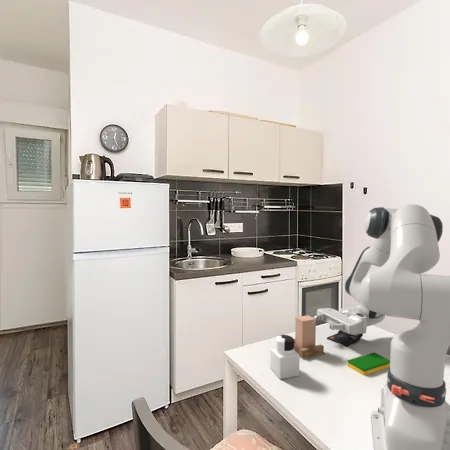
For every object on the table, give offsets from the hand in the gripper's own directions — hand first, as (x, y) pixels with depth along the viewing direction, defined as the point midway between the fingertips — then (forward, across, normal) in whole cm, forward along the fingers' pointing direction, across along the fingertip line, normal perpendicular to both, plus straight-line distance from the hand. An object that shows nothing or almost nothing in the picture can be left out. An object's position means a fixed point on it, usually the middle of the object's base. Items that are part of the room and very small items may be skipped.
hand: (322, 322), depth 120 cm
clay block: (+8, 0, +9) cm, 12 cm away
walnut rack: (+8, 0, +10) cm, 13 cm away
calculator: (-13, -2, +10) cm, 17 cm away
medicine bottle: (+24, +11, +10) cm, 28 cm away
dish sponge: (-5, +18, +10) cm, 21 cm away
